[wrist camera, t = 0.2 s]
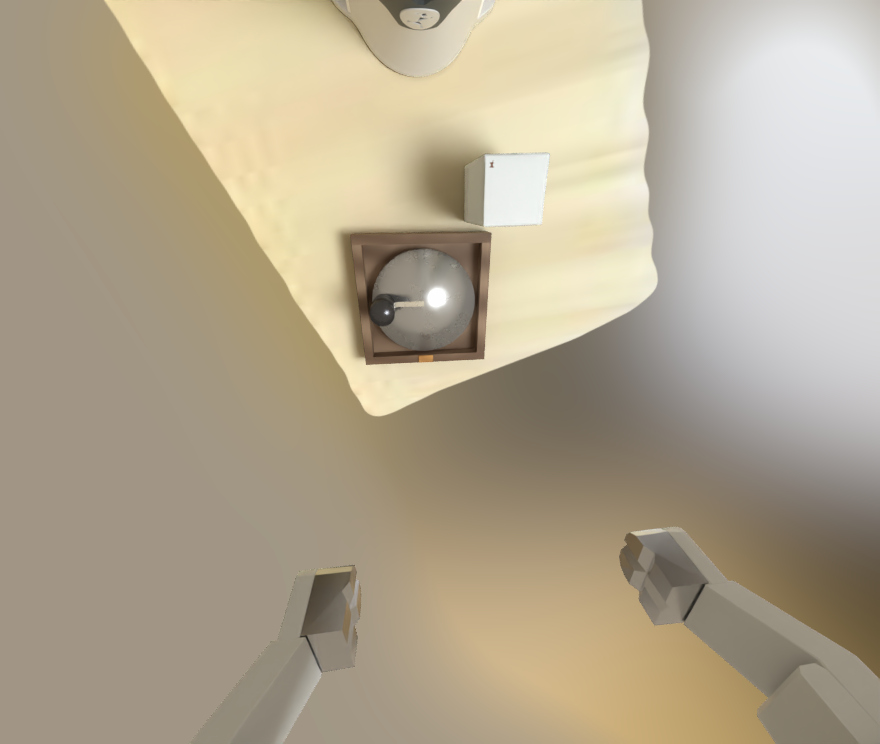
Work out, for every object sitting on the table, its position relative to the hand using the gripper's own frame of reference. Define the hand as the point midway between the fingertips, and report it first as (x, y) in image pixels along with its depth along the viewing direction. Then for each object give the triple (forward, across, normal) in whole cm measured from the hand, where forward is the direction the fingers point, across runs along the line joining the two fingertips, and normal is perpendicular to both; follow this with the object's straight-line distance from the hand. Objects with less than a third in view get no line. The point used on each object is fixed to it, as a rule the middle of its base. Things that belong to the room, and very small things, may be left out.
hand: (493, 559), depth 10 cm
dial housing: (+47, 0, +4) cm, 47 cm away
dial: (+46, 0, +4) cm, 46 cm away
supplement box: (+47, -10, -10) cm, 50 cm away
